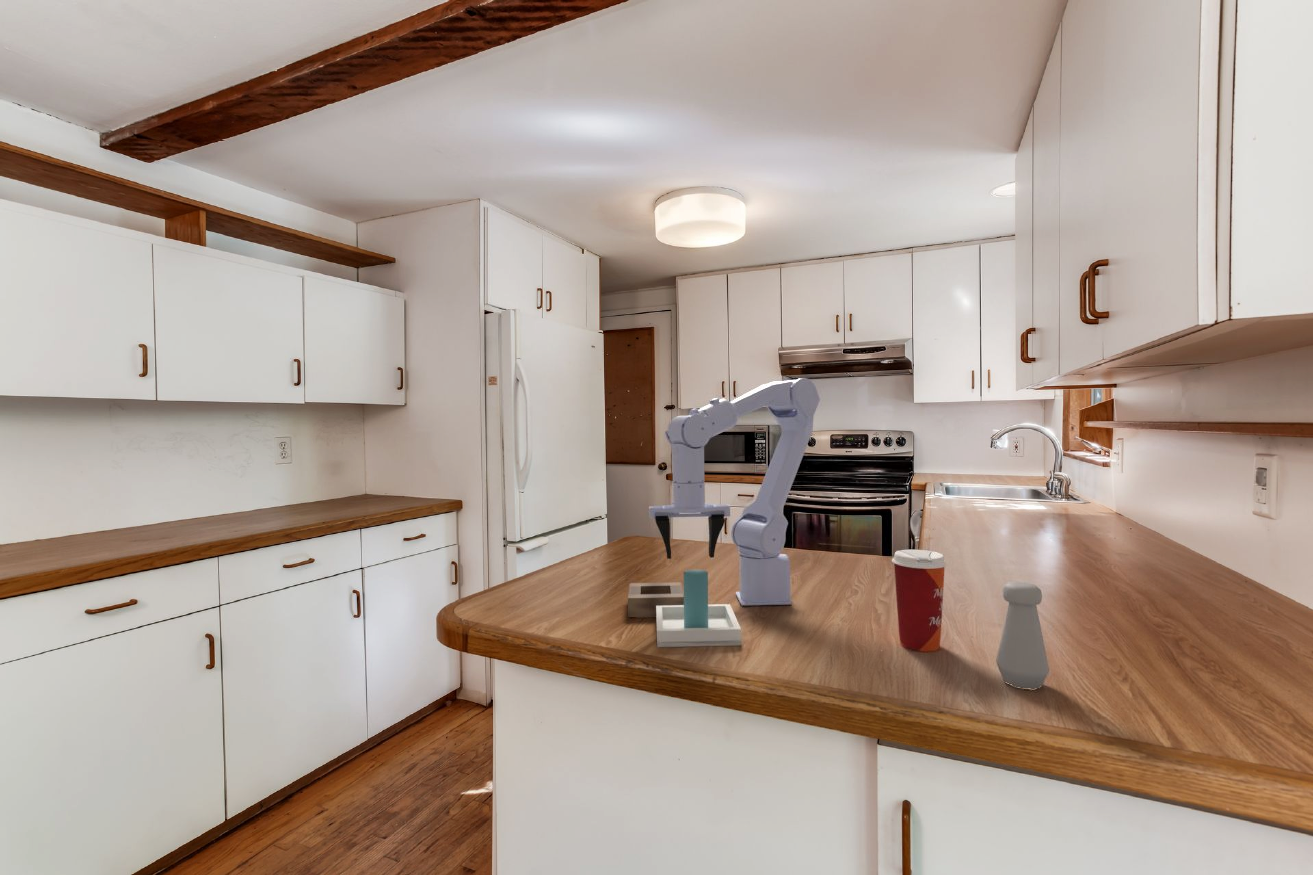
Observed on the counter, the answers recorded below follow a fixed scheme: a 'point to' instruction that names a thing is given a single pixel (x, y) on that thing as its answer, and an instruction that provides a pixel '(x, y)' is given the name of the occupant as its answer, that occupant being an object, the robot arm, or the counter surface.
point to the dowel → (695, 599)
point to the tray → (718, 633)
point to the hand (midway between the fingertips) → (690, 557)
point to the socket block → (652, 597)
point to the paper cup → (919, 598)
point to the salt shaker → (1022, 638)
